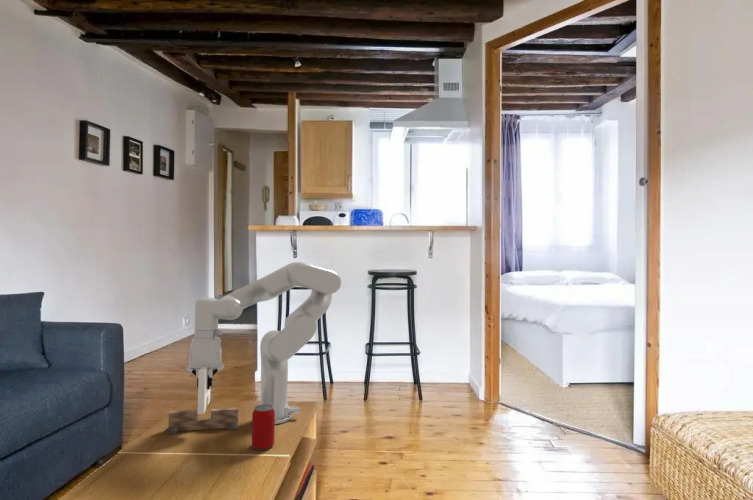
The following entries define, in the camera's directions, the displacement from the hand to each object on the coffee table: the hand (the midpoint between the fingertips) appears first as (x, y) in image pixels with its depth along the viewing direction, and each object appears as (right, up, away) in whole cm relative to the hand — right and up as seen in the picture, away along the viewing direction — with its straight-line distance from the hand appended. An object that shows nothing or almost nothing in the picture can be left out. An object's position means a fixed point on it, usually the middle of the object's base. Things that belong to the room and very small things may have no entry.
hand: (204, 388), depth 151 cm
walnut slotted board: (0, -13, 0) cm, 13 cm away
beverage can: (+24, -14, -14) cm, 31 cm away
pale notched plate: (0, -6, 0) cm, 6 cm away
